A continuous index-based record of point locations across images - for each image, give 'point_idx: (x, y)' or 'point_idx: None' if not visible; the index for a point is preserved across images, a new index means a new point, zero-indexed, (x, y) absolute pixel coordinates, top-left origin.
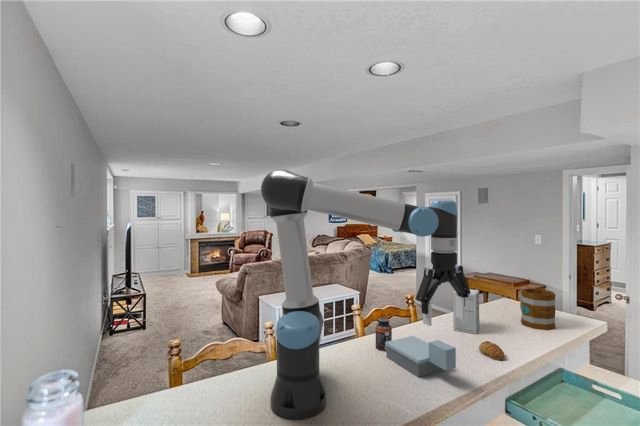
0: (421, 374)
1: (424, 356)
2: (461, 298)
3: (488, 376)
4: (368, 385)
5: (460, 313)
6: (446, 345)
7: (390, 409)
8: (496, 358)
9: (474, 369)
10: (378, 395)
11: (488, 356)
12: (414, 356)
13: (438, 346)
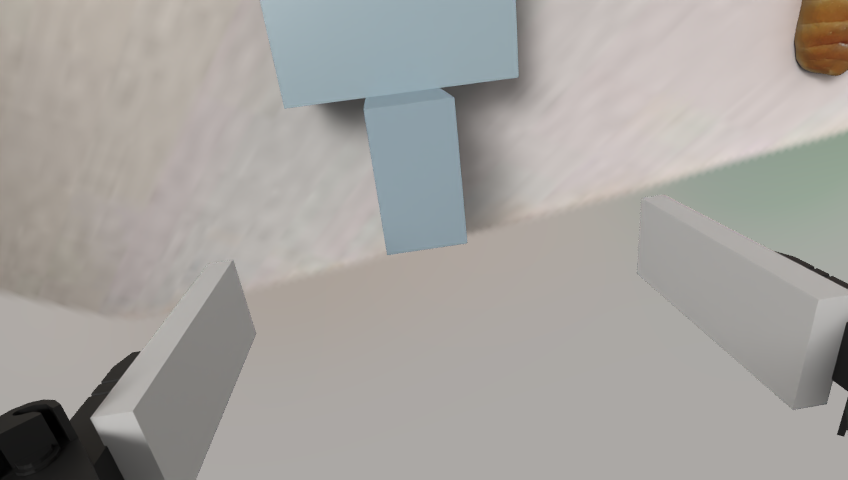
0: None
1: (353, 69)
2: (787, 384)
3: (616, 173)
4: (26, 55)
5: (662, 270)
6: (441, 196)
7: (82, 253)
8: (802, 58)
9: (619, 100)
10: (57, 153)
11: (801, 12)
12: (292, 47)
13: (382, 193)
